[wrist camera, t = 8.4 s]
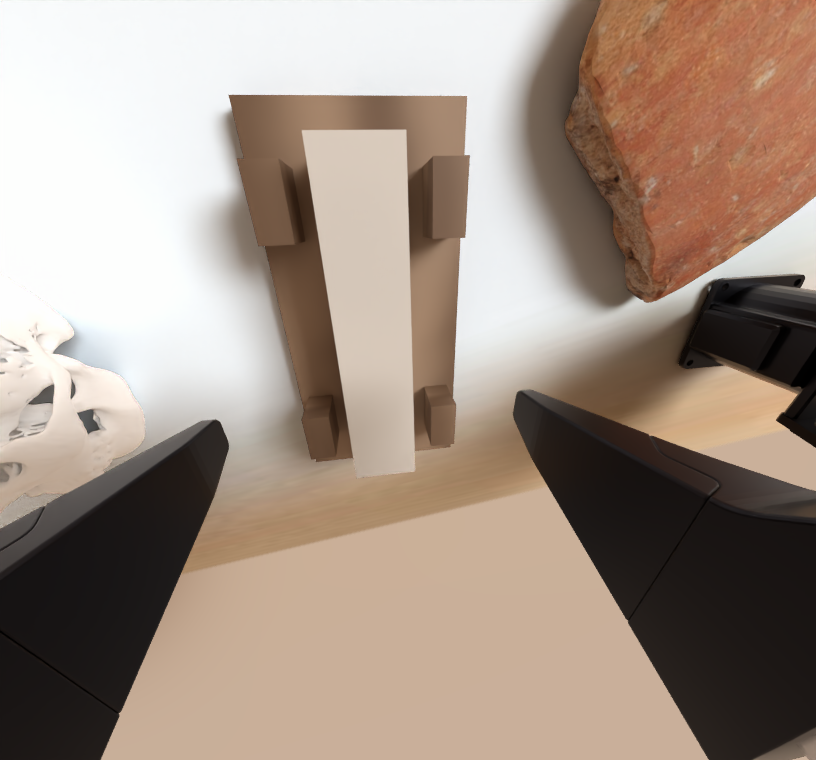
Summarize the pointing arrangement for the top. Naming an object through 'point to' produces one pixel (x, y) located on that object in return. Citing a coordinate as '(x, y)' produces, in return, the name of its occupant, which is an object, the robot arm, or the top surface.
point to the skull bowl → (54, 404)
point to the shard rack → (301, 256)
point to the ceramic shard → (696, 128)
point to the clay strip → (368, 286)
